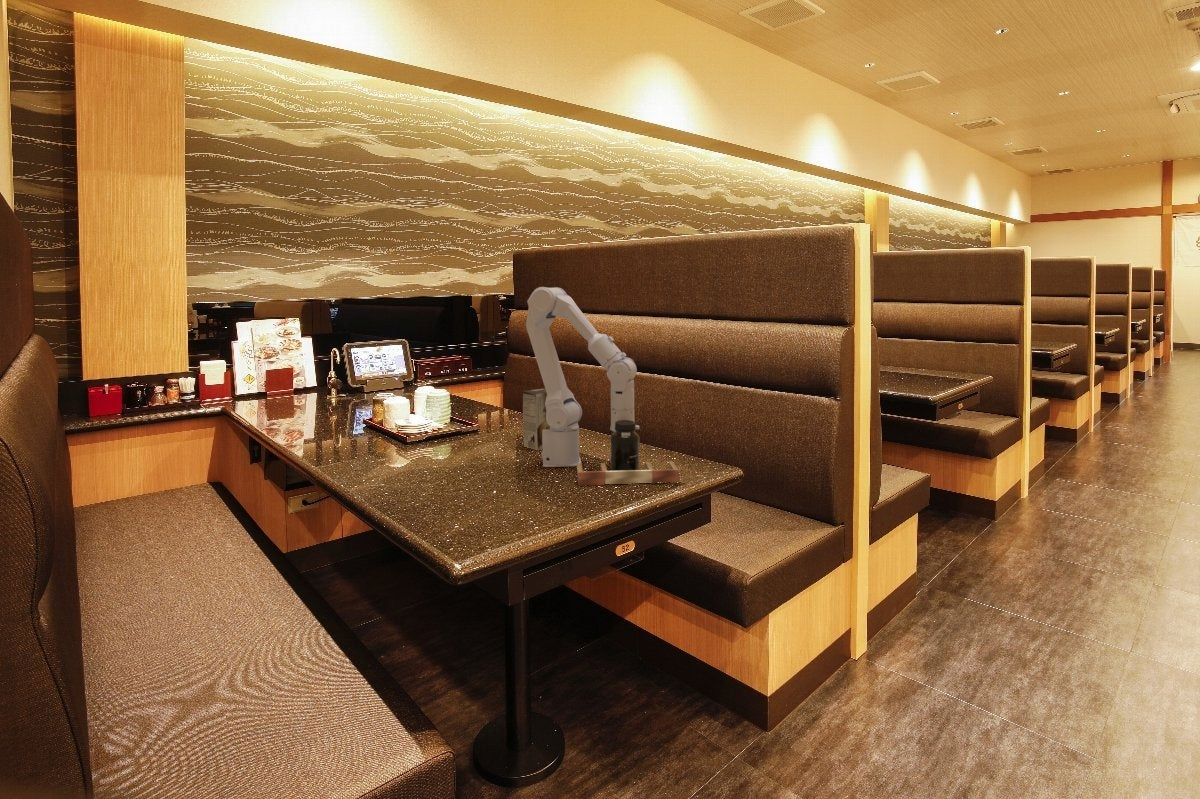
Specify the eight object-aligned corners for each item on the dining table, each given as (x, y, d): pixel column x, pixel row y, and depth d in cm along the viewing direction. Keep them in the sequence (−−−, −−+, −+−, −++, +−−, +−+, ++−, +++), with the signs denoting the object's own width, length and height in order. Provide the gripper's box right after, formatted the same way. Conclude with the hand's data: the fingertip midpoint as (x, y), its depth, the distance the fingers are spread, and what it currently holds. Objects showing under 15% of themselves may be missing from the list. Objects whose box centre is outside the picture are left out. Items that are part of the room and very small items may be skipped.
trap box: (578, 485, 154) (578, 472, 153) (577, 475, 162) (577, 463, 162) (678, 483, 155) (678, 470, 155) (672, 473, 163) (672, 461, 163)
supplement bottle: (636, 476, 161) (637, 427, 158) (607, 474, 163) (608, 425, 160) (640, 466, 168) (641, 419, 165) (613, 464, 169) (613, 417, 166)
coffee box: (547, 442, 199) (546, 387, 197) (562, 446, 195) (561, 389, 192) (522, 448, 193) (521, 390, 190) (537, 451, 188) (536, 392, 186)
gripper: (642, 413, 160) (643, 470, 162) (635, 403, 174) (635, 456, 177) (612, 413, 160) (613, 471, 162) (607, 404, 174) (608, 456, 176)
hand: (623, 463), depth 169 cm, fingers closed, pressing on supplement bottle
